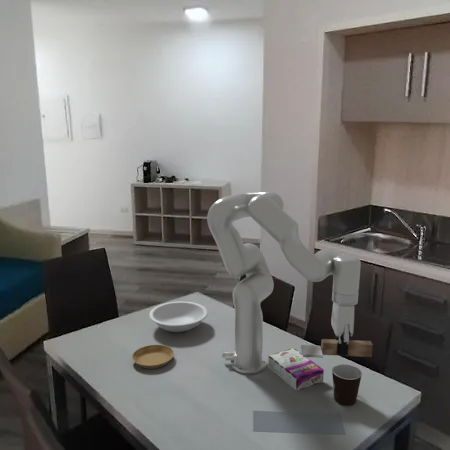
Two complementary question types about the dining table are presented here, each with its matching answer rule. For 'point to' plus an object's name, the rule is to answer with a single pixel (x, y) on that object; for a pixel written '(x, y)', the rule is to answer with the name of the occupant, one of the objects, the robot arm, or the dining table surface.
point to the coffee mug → (346, 383)
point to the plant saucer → (153, 356)
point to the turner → (331, 348)
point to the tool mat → (297, 422)
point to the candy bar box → (295, 369)
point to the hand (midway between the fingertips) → (341, 351)
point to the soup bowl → (178, 315)
